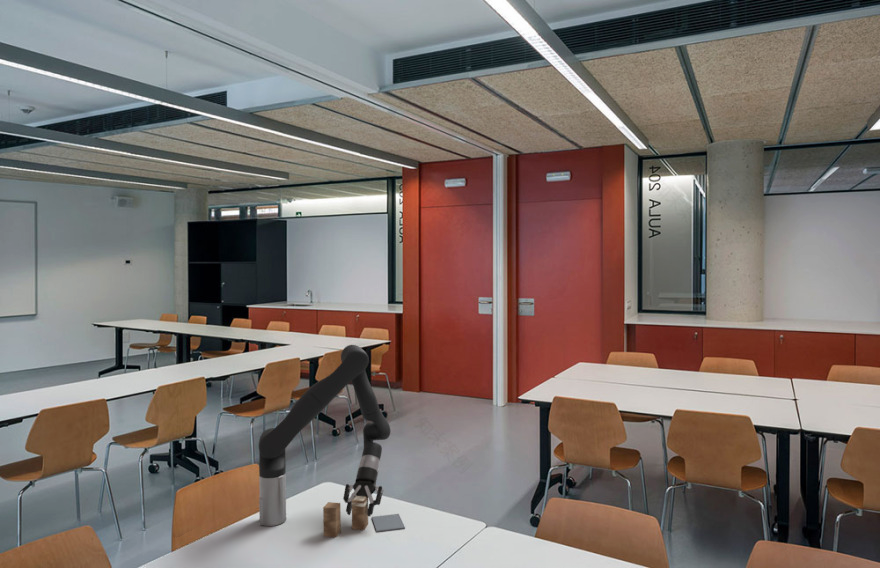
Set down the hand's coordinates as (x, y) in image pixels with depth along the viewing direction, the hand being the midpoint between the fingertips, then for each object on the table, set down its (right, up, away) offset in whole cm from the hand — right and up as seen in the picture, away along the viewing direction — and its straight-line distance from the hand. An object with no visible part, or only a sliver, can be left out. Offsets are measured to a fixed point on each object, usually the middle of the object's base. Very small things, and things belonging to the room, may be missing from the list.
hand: (358, 514), depth 203 cm
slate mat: (+10, -5, +4) cm, 12 cm away
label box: (0, -5, +2) cm, 5 cm away
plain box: (-9, -5, -4) cm, 11 cm away
